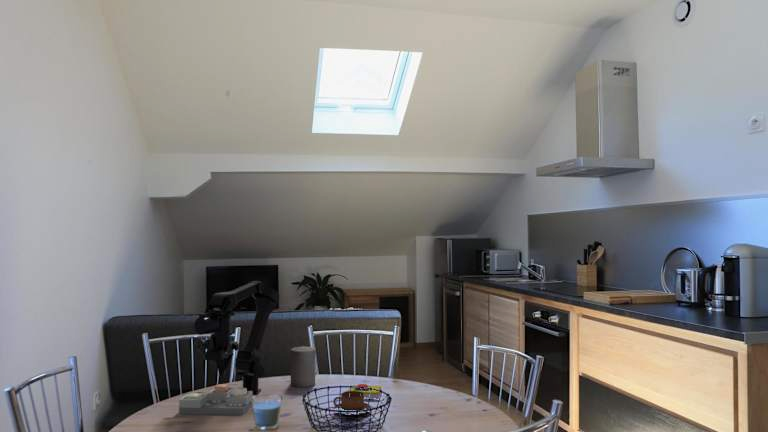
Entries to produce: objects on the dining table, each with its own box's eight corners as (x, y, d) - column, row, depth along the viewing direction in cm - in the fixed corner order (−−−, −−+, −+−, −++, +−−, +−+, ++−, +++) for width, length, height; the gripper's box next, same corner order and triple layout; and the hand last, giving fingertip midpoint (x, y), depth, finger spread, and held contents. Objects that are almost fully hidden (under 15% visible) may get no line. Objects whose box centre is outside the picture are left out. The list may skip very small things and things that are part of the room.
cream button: (234, 394, 189) (234, 387, 189) (248, 394, 188) (248, 387, 188) (230, 398, 184) (230, 391, 184) (244, 399, 183) (244, 391, 184)
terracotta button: (217, 391, 193) (217, 384, 193) (230, 391, 193) (230, 384, 193) (212, 395, 188) (212, 387, 188) (226, 395, 188) (226, 387, 188)
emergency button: (347, 381, 205) (387, 382, 203) (347, 393, 205) (387, 394, 203) (342, 387, 196) (383, 389, 194) (342, 400, 196) (384, 402, 193)
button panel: (196, 400, 194) (197, 387, 194) (255, 401, 193) (256, 388, 193) (178, 413, 179) (179, 399, 179) (242, 414, 178) (242, 400, 178)
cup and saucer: (341, 421, 172) (341, 400, 173) (329, 410, 183) (329, 391, 184) (376, 416, 177) (376, 396, 177) (362, 405, 188) (362, 387, 188)
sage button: (189, 400, 185) (189, 393, 185) (203, 401, 185) (203, 393, 185) (183, 405, 180) (183, 397, 180) (198, 405, 180) (198, 397, 180)
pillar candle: (285, 384, 215) (285, 345, 216) (304, 379, 223) (304, 342, 224) (301, 388, 209) (302, 348, 210) (320, 383, 217) (320, 345, 217)
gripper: (209, 325, 201) (208, 369, 200) (188, 334, 182) (187, 382, 182) (239, 325, 200) (239, 369, 200) (221, 334, 182) (221, 382, 181)
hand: (221, 375), depth 191 cm, fingers closed
